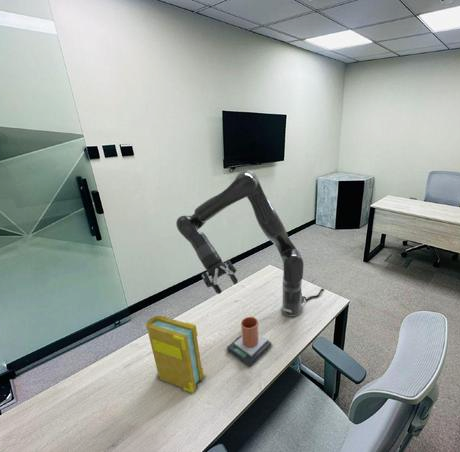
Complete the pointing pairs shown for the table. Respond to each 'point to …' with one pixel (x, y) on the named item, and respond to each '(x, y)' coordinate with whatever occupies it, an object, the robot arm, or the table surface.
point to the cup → (249, 332)
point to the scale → (249, 350)
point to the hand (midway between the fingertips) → (228, 288)
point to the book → (175, 351)
